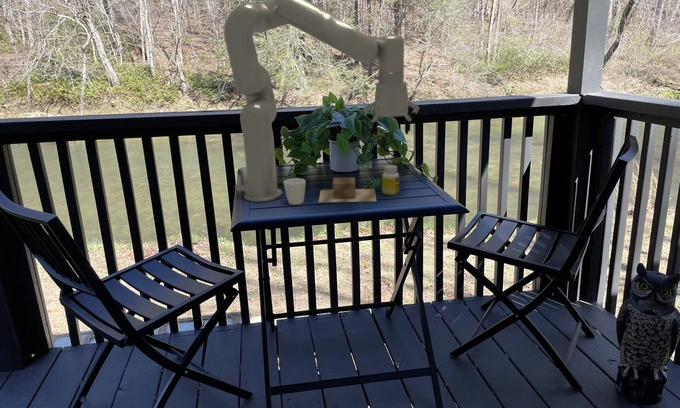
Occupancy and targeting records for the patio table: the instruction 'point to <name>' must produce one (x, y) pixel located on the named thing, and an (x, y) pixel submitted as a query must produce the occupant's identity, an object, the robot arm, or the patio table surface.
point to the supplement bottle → (390, 180)
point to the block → (344, 188)
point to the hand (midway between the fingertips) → (391, 133)
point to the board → (360, 196)
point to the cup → (295, 190)
